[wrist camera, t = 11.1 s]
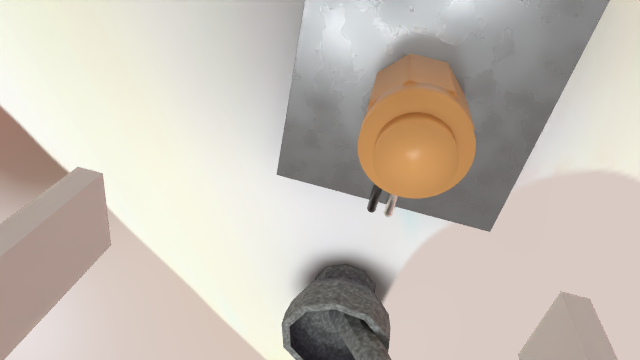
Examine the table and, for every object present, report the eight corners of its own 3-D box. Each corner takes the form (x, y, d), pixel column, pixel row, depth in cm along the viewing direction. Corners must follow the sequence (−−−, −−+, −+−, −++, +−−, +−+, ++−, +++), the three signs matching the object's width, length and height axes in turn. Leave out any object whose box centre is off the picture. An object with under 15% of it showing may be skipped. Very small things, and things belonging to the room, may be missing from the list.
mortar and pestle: (314, 324, 47) (287, 433, 37) (284, 258, 43) (245, 360, 33) (417, 315, 44) (418, 433, 34) (395, 243, 40) (389, 351, 30)
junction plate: (322, -71, 28) (298, -70, 22) (598, -7, 27) (649, 12, 21) (281, 171, 38) (257, 216, 32) (482, 225, 37) (495, 282, 31)
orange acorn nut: (383, 45, 29) (371, 90, 21) (476, 68, 29) (500, 122, 21) (360, 129, 33) (342, 195, 25) (443, 150, 32) (453, 225, 24)
